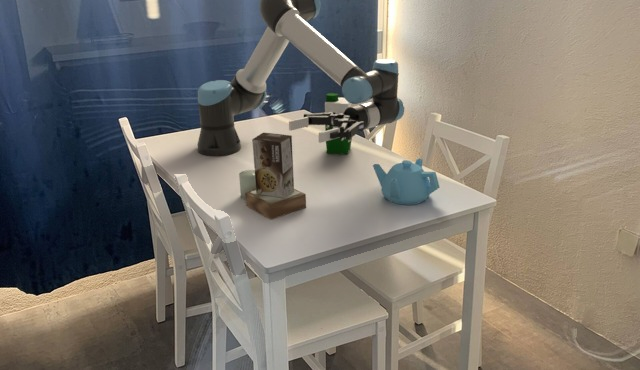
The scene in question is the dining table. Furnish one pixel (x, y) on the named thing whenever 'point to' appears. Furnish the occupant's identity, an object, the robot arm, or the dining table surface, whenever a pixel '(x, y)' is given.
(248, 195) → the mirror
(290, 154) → the coffee box
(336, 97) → the milk carton
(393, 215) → the dining table surface
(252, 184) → the sage rounded cylinder
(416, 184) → the teapot
